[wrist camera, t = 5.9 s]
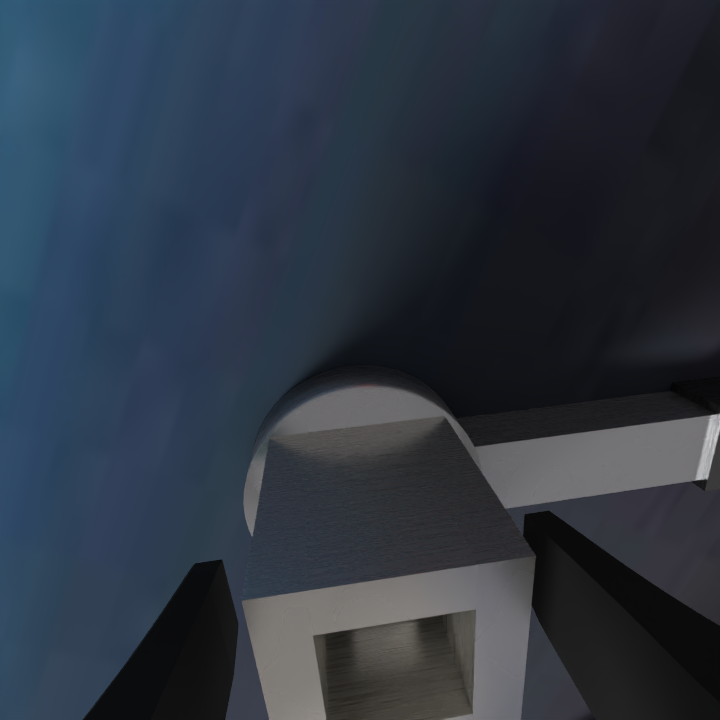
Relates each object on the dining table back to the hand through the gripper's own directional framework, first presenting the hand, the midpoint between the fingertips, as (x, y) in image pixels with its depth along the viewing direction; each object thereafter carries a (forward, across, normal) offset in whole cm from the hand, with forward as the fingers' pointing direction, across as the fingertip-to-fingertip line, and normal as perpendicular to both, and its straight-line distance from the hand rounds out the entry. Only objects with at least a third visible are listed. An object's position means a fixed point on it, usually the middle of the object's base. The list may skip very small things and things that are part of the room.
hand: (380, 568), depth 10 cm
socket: (+2, 0, 0) cm, 3 cm away
